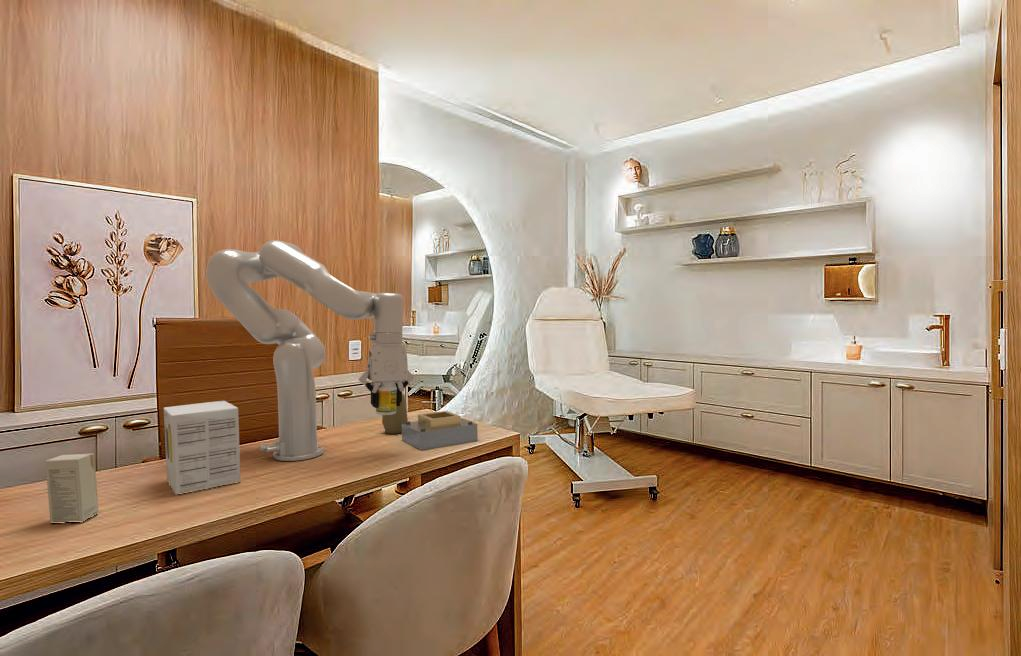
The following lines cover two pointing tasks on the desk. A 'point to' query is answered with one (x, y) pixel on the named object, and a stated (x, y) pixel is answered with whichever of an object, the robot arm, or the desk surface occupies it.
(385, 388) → the supplement bottle
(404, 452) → the desk surface
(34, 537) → the desk surface
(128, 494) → the desk surface
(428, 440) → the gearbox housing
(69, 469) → the skincare box
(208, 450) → the supplement box
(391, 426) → the squeeze bottle
